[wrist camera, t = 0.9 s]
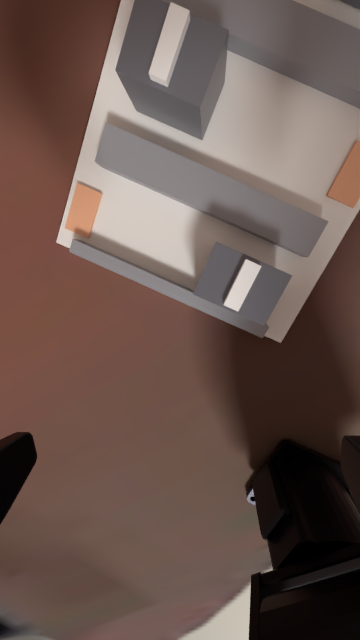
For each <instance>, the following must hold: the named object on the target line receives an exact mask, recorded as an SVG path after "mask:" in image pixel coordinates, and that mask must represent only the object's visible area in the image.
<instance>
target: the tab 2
mask: <svg viewBox="0 0 360 640" xmlns="http://www.w3.org/2000/svg"><path fill="white" fill-rule="evenodd" d="M292 276H293V275H290V274H288V273H286V272H284V271H281V270H279V269H277V268H275V267H272V266H270V265H268V264H266V263H263V262H261V261H259V260H257V259H255V258H252V257H250V256H248V255H246V254H243V253H241V252H239V251H237V250H234V249H232V248H230V247H228V246H225V245H223V244H221V243H219V242H216V243H215V246H214V248H213V250H212V252H211V255H210V257H209V259H208V261H207V264H206V266H205V268H204V270H203V272H202V275H201V277H200V279H199V281H198V284H197V286H196V288H195V290H194V293H193V295H195V296H198V297H200V298H202V299H204V300H207V301H209V302H211V303H213V304H216V305H218V306H220V307H222V308H224V309H227V310H229V311H231V312H233V313H236V314H238V315H240V316H242V317H245V318H247V319H249V320H251V321H253V322H256V323H258V324H260V325H262V326H265V324H266V322H267V321H268V319H269V317H270V315H271V313H272V312H273V310H274V308H275V306H276V304H277V303H278V301H279V299H280V297H281V295H282V294H283V292H284V290H285V288H286V286H287V285H288V283H289V281H290V279H291V277H292Z"/></svg>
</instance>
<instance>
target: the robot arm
mask: <svg viewBox="0 0 360 640" xmlns="http://www.w3.org/2000/svg"><path fill="white" fill-rule="evenodd" d="M286 446H289V447H288V448H285V447H286ZM36 460H37V452H36V448H35V444H34V440H33V436H32V434H31V433H29V432H16V433H14V434H11V435H9V436H7V437H5V438H3V439H1V440H0V524H1V523H2V521H3V519H4V518H5V516H6V514H7V513H8V511H9V509H10V508H11V506H12V504H13V502H14V500H15V499H16V497H17V495H18V493H19V492H20V490H21V488H22V486H23V484H24V483H25V481H26V479H27V477H28V475H29V474H30V472H31V470H32V468H33V467H34V465H35V463H36ZM246 495H247V500H248V502H249V503H251V504H253V505H256V509H257V515H258V520H259V526H260V531H261V535H262V537H263V539H265V540H267V542H268V547H269V552H270V557H271V562H272V567H273V570H272V571H269V572H266V573H263V574H261V573H260V572H259V573H256V574H253V575H251V598H250V600H251V601H250V624H249V640H360V436H344V437H343V439H342V447H341V463H339V462H337V461H335V460H333V459H331V458H328V457H326V456H324V455H322V454H319V453H317V452H315V451H313V450H311V449H308V448H306V447H304V446H302V445H299V444H297V443H295V442H293V441H291V440H283V441H281V442H280V444H279V445H278V447H277V448H276V450H275V451H274V453H273V454H272V456H271V457H270V459H269V460H268V461H266V462H265V464H264V465H263V467H262V468H261V470H260V471H259V473H258V474H257V476H256V477H255V479H254V480H253V482H252V485H251V487H250V488H249V490H248V491H247V493H246ZM253 496H254V497H253Z"/></svg>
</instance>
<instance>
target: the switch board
mask: <svg viewBox="0 0 360 640" xmlns="http://www.w3.org/2000/svg"><path fill="white" fill-rule="evenodd" d="M134 1H135V0H121V2H120V6H119V10H118V14H117V17H116V21H115V25H114V29H113V32H112V36H111V40H110V44H109V47H108V51H107V55H106V58H105V62H104V66H103V70H102V73H101V77H100V81H99V85H98V88H97V92H96V96H95V100H94V103H93V107H92V111H91V115H90V118H89V122H88V126H87V130H86V133H85V137H84V141H83V145H82V148H81V152H80V156H79V159H78V163H77V167H76V171H75V174H74V178H73V182H72V186H71V189H70V193H69V197H68V201H67V204H66V208H65V212H64V216H63V219H62V223H61V227H60V231H59V234H58V238H57V242H56V243H59V244H61V245H63V246H65V247H68V248H70V250H69V252H71V253H73V254H75V255H78V256H80V257H82V258H84V259H87V260H89V261H91V262H93V263H95V264H98V265H100V266H102V267H104V268H107V269H109V270H111V271H113V272H116V273H118V274H120V275H122V276H124V277H127V278H129V279H131V280H133V281H136V282H138V283H140V284H142V285H145V286H147V287H149V288H151V289H153V290H156V291H158V292H160V293H162V294H165V295H167V296H169V297H171V298H174V299H176V300H178V301H180V302H182V303H185V304H187V305H189V306H191V307H194V308H196V309H198V310H200V311H203V312H205V313H207V314H209V315H211V316H214V317H216V318H218V319H220V320H223V321H225V322H227V323H229V324H232V325H234V326H236V327H238V328H240V329H243V330H245V331H247V332H249V333H252V334H254V335H256V336H258V337H260V338H263V337H264V336H266V337H268V338H271V339H273V340H275V341H277V342H280V343H281V342H282V340H283V339H284V337H285V335H286V333H287V332H288V330H289V328H290V327H291V325H292V323H293V322H294V320H295V318H296V316H297V315H298V313H299V311H300V310H301V308H302V306H303V305H304V303H305V301H306V299H307V298H308V296H309V294H310V293H311V291H312V289H313V288H314V286H315V284H316V283H317V281H318V279H319V277H320V276H321V274H322V272H323V271H324V269H325V267H326V266H327V264H328V262H329V260H330V259H331V257H332V255H333V254H334V252H335V250H336V249H337V247H338V245H339V243H340V242H341V240H342V238H343V237H344V235H345V233H346V232H347V230H348V228H349V227H350V225H351V223H352V221H353V220H354V218H355V216H356V215H357V213H358V211H359V210H360V9H358V8H356V7H353V6H351V5H349V4H347V3H344V2H342V1H340V0H163V1H165V2H167V3H169V4H170V3H171V2H172V3H174V4H176V5H179V6H181V7H183V8H186V9H188V10H190V13H192V14H194V15H197V16H199V17H201V18H203V19H206V20H208V21H210V22H213V23H215V24H217V25H219V26H222V27H224V28H226V29H228V30H229V36H228V48H227V60H226V72H225V83H224V86H223V88H222V91H221V94H220V96H219V99H218V101H217V104H216V106H215V109H214V112H213V114H212V117H211V119H210V122H209V124H208V127H207V130H206V132H205V135H204V137H203V140H200V139H198V138H196V137H193V136H191V135H189V134H187V133H184V132H182V131H180V130H178V129H175V128H173V127H171V126H169V125H166V124H164V123H162V122H160V121H157V120H155V119H153V118H151V117H148V116H146V115H144V114H142V113H139V112H137V111H136V110H135V108H134V106H133V104H132V102H131V100H130V98H129V96H128V94H127V92H126V90H125V88H124V86H123V84H122V82H121V80H120V78H119V77H118V75H117V73H116V71H115V69H116V65H117V62H118V58H119V55H120V51H121V47H122V44H123V40H124V37H125V33H126V29H127V26H128V22H129V19H130V15H131V12H132V8H133V4H134ZM216 242H219V243H221V244H223V245H225V246H228V247H230V248H232V249H234V250H237V251H239V252H241V253H243V254H246V255H248V256H250V257H252V258H255V259H257V260H259V261H261V262H263V263H266V264H268V265H270V266H272V267H275V268H277V269H279V270H281V271H284V272H286V273H288V274H290V275H293V276H292V277H291V279H290V281H289V283H288V285H287V286H286V288H285V290H284V292H283V294H282V295H281V297H280V299H279V301H278V303H277V304H276V306H275V308H274V310H273V312H272V313H271V315H270V317H269V319H268V321H267V322H266V324H265V326H262V325H260V324H258V323H256V322H253V321H251V320H249V319H247V318H245V317H242V316H240V315H238V314H236V313H233V312H231V311H229V310H227V309H224V308H222V307H220V306H218V305H216V304H213V303H211V302H209V301H207V300H204V299H202V298H200V297H198V296H195V295H193V293H194V290H195V288H196V286H197V284H198V281H199V279H200V277H201V275H202V272H203V270H204V268H205V266H206V264H207V261H208V259H209V257H210V255H211V252H212V250H213V248H214V246H215V243H216Z"/></svg>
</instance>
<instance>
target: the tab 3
mask: <svg viewBox="0 0 360 640" xmlns="http://www.w3.org/2000/svg"><path fill="white" fill-rule="evenodd" d="M340 1H342V2H344V3H347V4H349V5H351V6H353V7H356V8H358V9H360V0H340Z"/></svg>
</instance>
